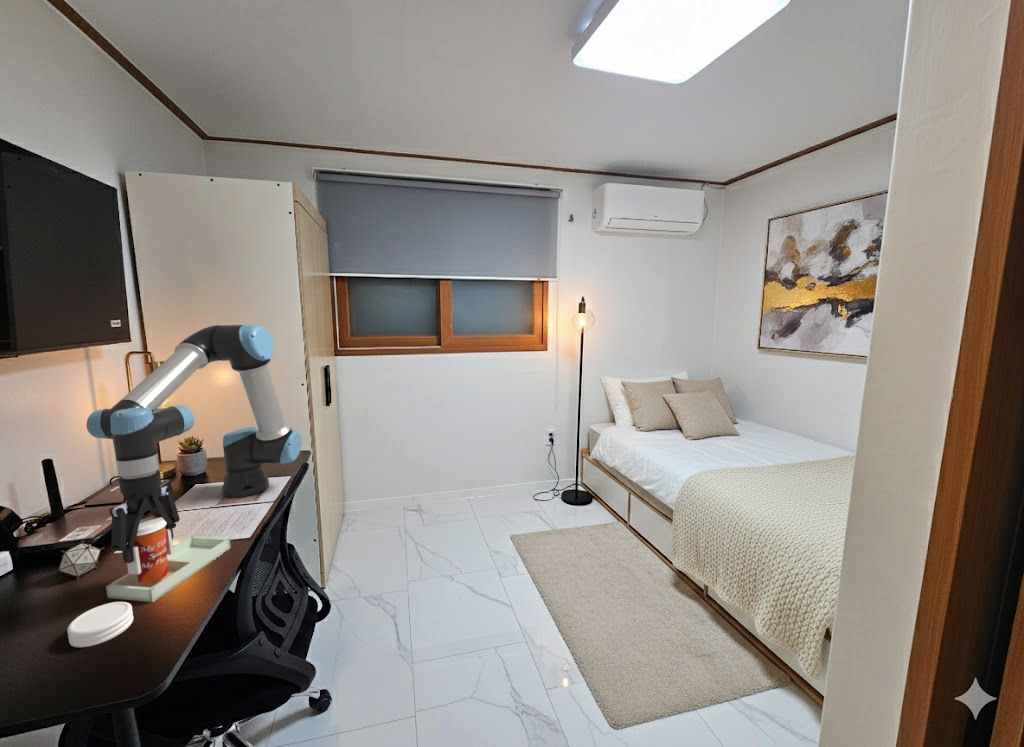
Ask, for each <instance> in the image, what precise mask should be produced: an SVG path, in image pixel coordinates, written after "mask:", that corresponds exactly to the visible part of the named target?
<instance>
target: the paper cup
mask: <svg viewBox="0 0 1024 747" xmlns="http://www.w3.org/2000/svg"><path fill="white" fill-rule="evenodd" d="M166 524H167V522H166V521H164V519H163V518H162V517H154V516H151V517H146V518H145V517H144V518H143V519H142V518H141V519H140V523H139V527H138V532H137V536H136V540H135V544H134V546H135V547H138V551H139V558H140V566H141V573H140V574H137V577H138V580H139V582H140V583H151V582H155V581H157V580H160V579H161V578H163V577H165V576H166V575H167V573H168V564H167V546H166V529H165V526H166Z"/></svg>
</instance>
